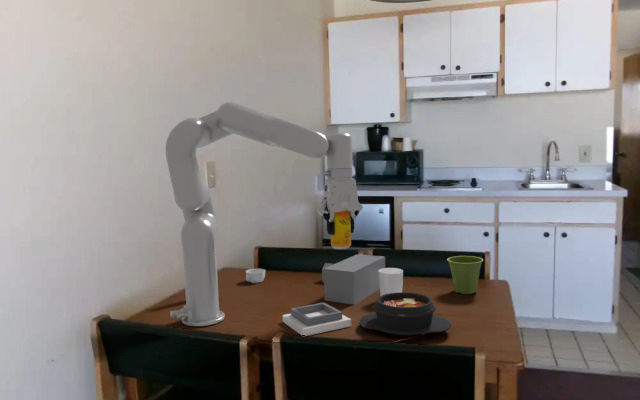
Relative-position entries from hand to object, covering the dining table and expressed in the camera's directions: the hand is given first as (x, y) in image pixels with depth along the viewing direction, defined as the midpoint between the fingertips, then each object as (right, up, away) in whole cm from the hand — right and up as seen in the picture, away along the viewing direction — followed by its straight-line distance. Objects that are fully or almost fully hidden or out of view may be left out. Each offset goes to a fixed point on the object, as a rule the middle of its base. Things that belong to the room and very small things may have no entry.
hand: (340, 232), depth 158 cm
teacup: (-31, -22, +39) cm, 54 cm away
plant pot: (+43, -21, +19) cm, 52 cm away
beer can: (0, -5, 0) cm, 5 cm away
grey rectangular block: (+1, -22, +24) cm, 33 cm away
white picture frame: (-7, -26, -10) cm, 28 cm away
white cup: (+17, -23, +11) cm, 30 cm away
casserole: (+17, -26, -16) cm, 35 cm away
